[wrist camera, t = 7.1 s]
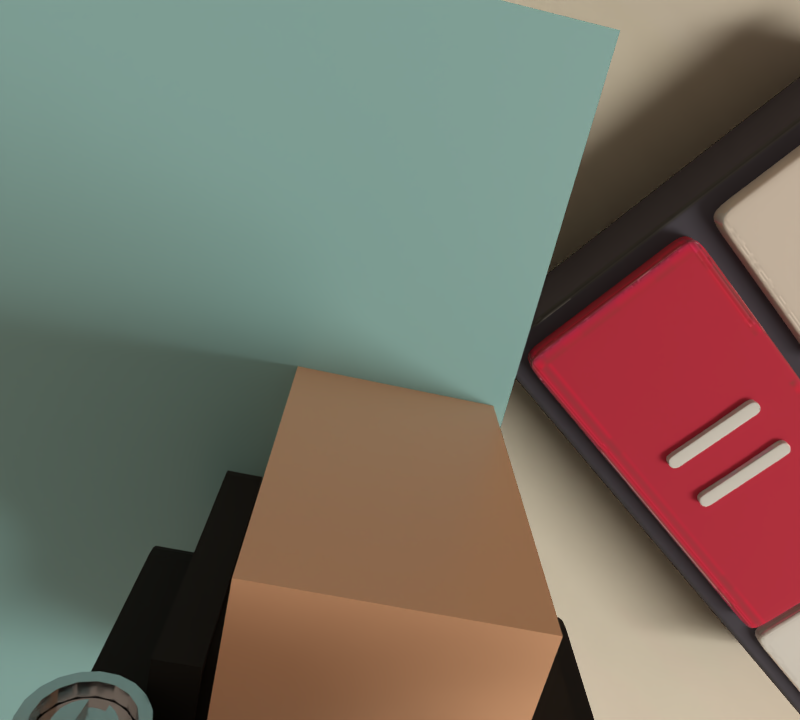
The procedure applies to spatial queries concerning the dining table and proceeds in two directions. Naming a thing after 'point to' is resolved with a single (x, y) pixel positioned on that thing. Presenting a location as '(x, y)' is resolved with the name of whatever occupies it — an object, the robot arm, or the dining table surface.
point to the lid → (283, 334)
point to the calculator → (696, 375)
